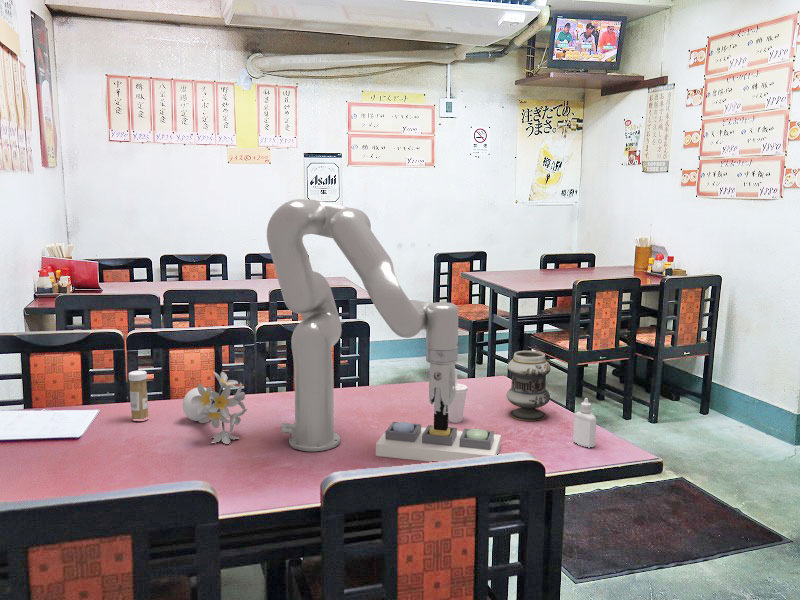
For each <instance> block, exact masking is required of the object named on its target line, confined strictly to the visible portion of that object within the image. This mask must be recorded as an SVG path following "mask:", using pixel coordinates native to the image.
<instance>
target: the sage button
mask: <svg viewBox="0 0 800 600" xmlns="http://www.w3.org/2000/svg"><path fill="white" fill-rule="evenodd" d="M469 429H470V430H468V431H467V435H466V438H470V439H480V440H488V432H487V431H488V430H486V431H485V429H482V428H469Z"/></svg>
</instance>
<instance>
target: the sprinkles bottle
mask: <svg viewBox="0 0 800 600" xmlns="http://www.w3.org/2000/svg"><path fill="white" fill-rule="evenodd" d="M147 373H148V372H147V371H146V370H133V371H130V372H128V382H129V397H130V399H129V400H130V411H131V412H130V413H131V419H144V418H146V417H148V416H149V402H148V400H149V399H148V390H147V386H148V385H147V378H148V375H147Z"/></svg>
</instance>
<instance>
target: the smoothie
mask: <svg viewBox="0 0 800 600" xmlns="http://www.w3.org/2000/svg"><path fill="white" fill-rule="evenodd" d="M455 386H456V394H455V397H454V399H453V401H452V403H451V404H450V405H449V406H448V412H447V413H448V423H449V422H450V423H453V424H458V423H462V422H463V417H464V410H465V405H466V403H465V402H466V398H467V397H466V396H467V392H468V391H469V390H468V385H466V384H462V383H458V370H455Z"/></svg>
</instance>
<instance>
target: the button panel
mask: <svg viewBox="0 0 800 600" xmlns="http://www.w3.org/2000/svg"><path fill="white" fill-rule="evenodd" d="M398 422H399V421H392V422H391V424H390V425H389V426H388V427H387V429H386V430H385V431H384V433H383V434H382V435H381V436H380V438H379V439H378V440H377V441H376V443H375V456H376V457H384V458H393V459H403V460H409V461H410V460H413V461H420V462H430V463H433V462H432V461H433V460H435V461H446V460H455V459H464V458H473V457H481V456H489V455H496V454H498V455H499V454H500V453H499V452H500V449H501V438H502V436H501V434H495V431H493V430H485V429H484V430H485V431H487V432H488V440H480V439H470V438H466V435H467V431H468V430H470V429H471V428H463V430H458V427H453V426H448V427H449V428H450V436H440V435H429V430H430V427H432V426H434V424H433V425H431V424H428V425H427V426H426V427H422V424H420V423H412V424H413V425H414V431H413V432H412V433H409V432H399V431H393V425H394V424H395V423H398Z"/></svg>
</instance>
